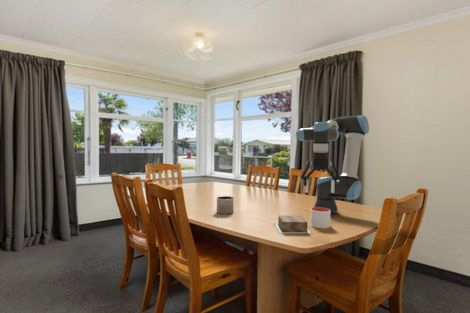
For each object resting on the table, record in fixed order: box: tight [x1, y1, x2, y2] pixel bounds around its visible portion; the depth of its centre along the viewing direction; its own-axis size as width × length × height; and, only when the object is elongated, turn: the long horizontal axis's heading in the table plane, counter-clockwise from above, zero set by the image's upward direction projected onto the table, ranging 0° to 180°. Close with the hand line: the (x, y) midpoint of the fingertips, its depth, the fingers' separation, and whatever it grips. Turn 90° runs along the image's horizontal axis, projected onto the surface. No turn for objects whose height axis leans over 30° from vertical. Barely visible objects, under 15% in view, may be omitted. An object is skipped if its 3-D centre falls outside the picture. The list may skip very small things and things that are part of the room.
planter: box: [216, 195, 235, 215], centre depth 176 cm, size 11×11×10 cm
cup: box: [309, 206, 331, 229], centre depth 144 cm, size 10×10×10 cm
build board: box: [273, 223, 313, 235], centre depth 138 cm, size 16×16×2 cm
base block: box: [277, 215, 308, 232], centre depth 138 cm, size 12×12×5 cm
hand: (319, 192), depth 144 cm, fingers open, 13 cm apart
